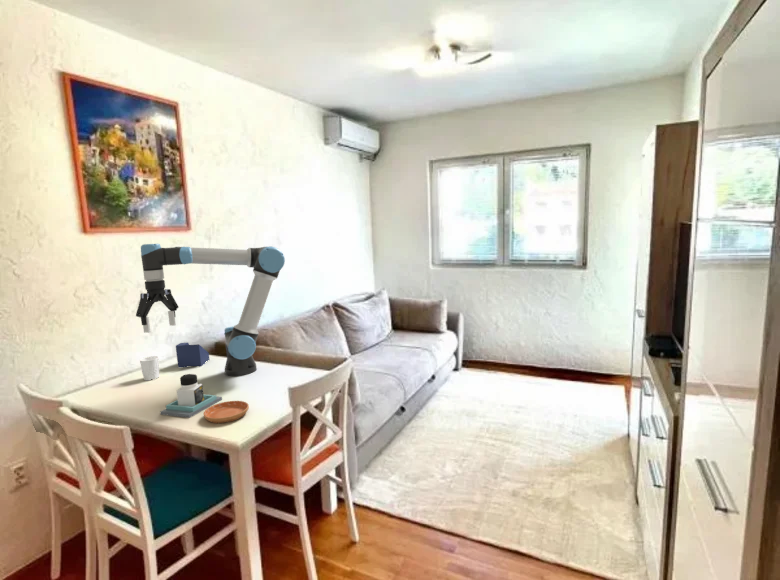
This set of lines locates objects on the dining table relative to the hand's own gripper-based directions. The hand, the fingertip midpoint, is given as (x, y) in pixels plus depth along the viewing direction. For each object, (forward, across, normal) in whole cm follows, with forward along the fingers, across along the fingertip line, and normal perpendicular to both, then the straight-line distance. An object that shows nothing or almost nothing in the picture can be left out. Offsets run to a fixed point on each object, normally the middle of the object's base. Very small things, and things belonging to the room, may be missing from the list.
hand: (160, 328), depth 187 cm
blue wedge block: (+29, -39, -21) cm, 53 cm away
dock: (+29, +11, +24) cm, 39 cm away
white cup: (+29, -14, -25) cm, 41 cm away
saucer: (+29, +16, +44) cm, 55 cm away
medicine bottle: (+28, +12, +24) cm, 38 cm away
